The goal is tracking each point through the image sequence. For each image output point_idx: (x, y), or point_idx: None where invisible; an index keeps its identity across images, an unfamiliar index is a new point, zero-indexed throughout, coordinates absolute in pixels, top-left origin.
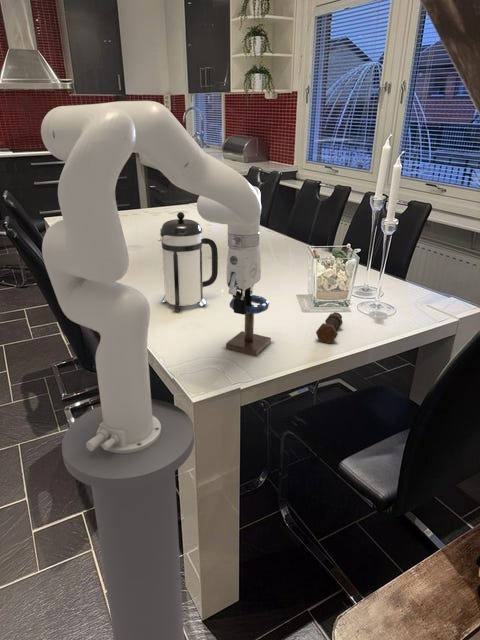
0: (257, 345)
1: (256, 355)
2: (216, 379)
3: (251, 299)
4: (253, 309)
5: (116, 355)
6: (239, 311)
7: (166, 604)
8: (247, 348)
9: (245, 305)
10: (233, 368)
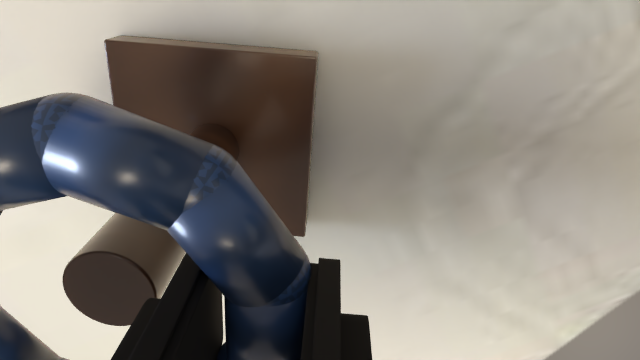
0: (248, 78)
1: (316, 51)
2: (628, 140)
3: (142, 334)
4: (256, 219)
5: None
6: (366, 321)
7: None
8: (310, 117)
9: (327, 328)
10: (496, 110)
